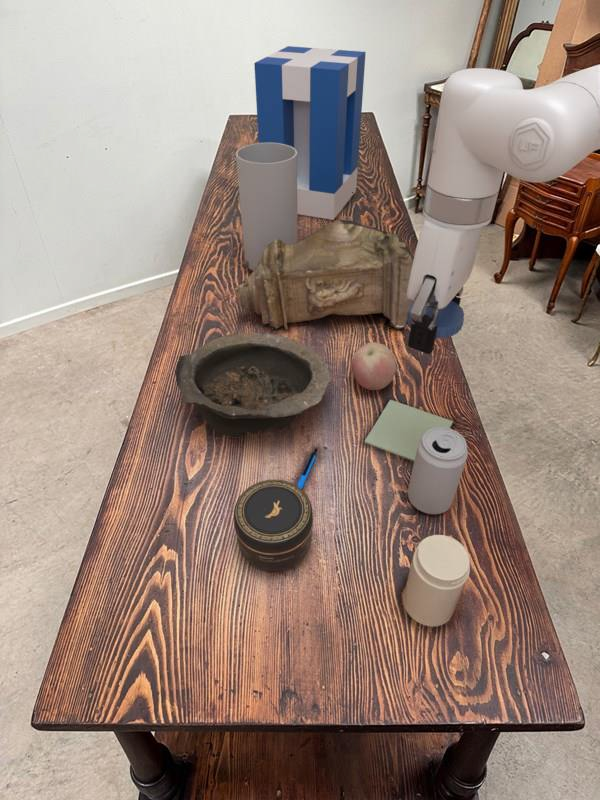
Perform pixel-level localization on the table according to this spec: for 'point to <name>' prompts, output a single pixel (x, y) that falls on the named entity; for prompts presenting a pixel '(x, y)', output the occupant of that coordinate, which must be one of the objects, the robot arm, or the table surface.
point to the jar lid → (444, 319)
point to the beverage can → (437, 470)
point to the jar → (273, 525)
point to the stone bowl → (251, 382)
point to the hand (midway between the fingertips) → (432, 333)
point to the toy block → (314, 120)
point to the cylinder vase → (267, 197)
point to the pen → (307, 469)
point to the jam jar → (436, 580)
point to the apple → (373, 366)
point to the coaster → (403, 429)
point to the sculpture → (331, 276)
